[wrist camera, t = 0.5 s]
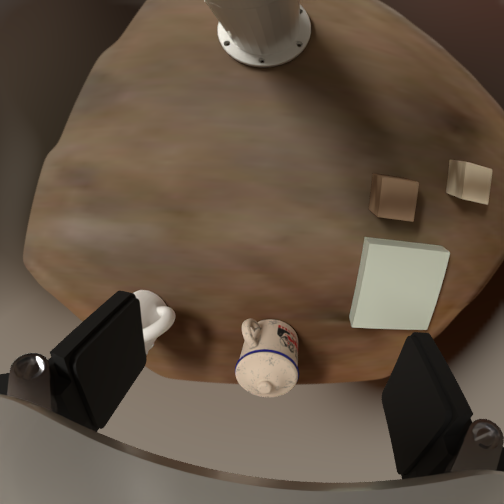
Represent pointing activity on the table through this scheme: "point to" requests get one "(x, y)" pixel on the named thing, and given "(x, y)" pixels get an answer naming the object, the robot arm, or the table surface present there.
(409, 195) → the walnut block
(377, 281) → the base board
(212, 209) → the table surface
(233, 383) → the table surface
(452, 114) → the table surface
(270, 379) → the teacup with lid
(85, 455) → the robot arm
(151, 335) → the mug
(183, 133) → the table surface
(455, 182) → the ash block
